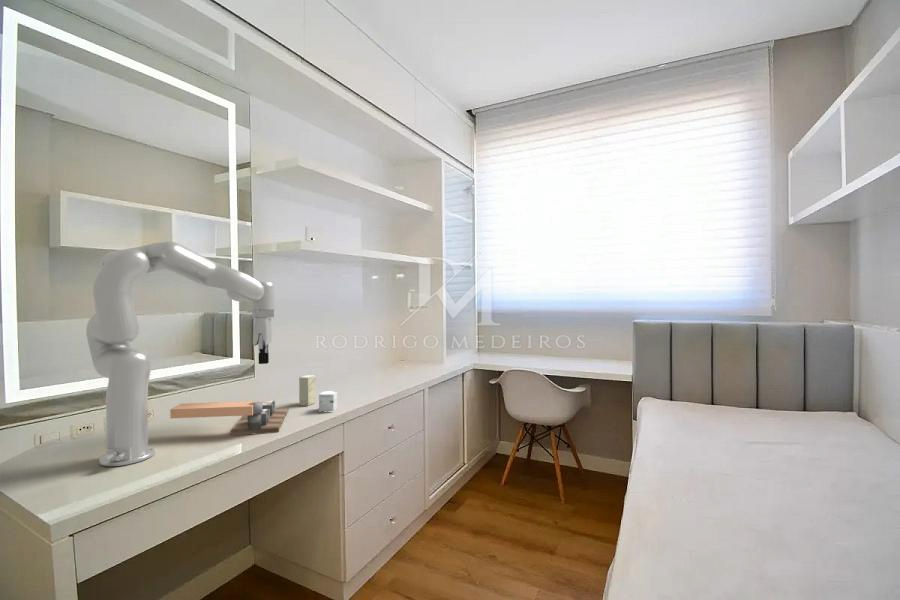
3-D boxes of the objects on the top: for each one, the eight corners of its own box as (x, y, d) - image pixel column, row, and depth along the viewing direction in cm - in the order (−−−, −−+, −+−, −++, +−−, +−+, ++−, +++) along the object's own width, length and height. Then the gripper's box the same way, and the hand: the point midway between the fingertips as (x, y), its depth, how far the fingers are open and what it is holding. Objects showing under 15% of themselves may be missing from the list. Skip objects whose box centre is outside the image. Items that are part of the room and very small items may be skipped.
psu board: (278, 432, 141) (278, 413, 141) (229, 436, 138) (229, 416, 138) (288, 411, 167) (288, 394, 167) (248, 413, 164) (248, 397, 164)
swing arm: (265, 409, 145) (265, 400, 145) (259, 415, 138) (259, 406, 138) (181, 412, 141) (181, 403, 141) (170, 418, 134) (170, 409, 134)
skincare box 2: (318, 412, 166) (318, 394, 166) (322, 408, 172) (322, 390, 172) (333, 412, 166) (333, 394, 166) (337, 408, 172) (337, 390, 172)
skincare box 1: (308, 406, 175) (308, 377, 175) (298, 405, 176) (298, 377, 176) (315, 402, 181) (315, 374, 181) (306, 402, 182) (306, 374, 182)
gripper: (256, 313, 161) (257, 360, 161) (247, 315, 146) (248, 367, 147) (277, 313, 163) (277, 359, 163) (270, 315, 148) (270, 366, 149)
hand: (263, 363), depth 155 cm, fingers closed
